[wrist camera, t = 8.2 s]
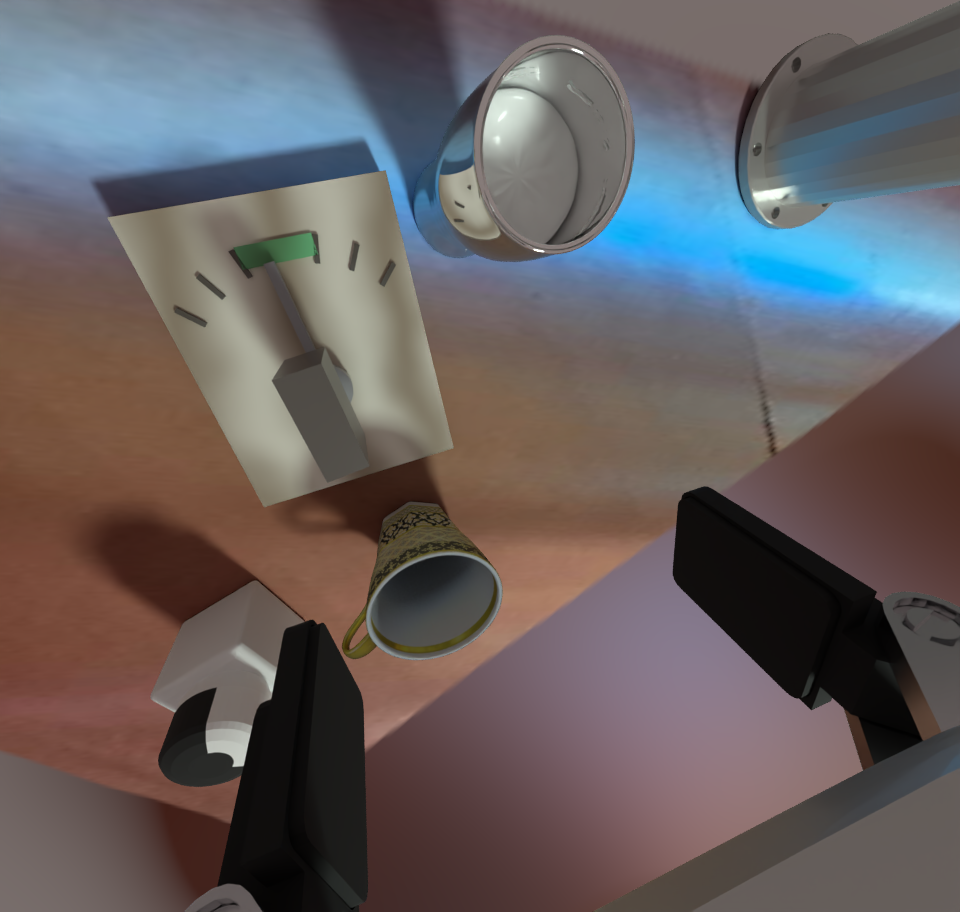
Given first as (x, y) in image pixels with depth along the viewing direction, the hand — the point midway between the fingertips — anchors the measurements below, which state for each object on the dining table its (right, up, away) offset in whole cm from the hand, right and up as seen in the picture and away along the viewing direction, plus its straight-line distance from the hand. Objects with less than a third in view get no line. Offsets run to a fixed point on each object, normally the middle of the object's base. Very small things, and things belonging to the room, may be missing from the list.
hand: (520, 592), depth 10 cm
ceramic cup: (-8, -4, +27) cm, 29 cm away
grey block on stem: (-12, +10, +16) cm, 23 cm away
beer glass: (-3, +21, +18) cm, 27 cm away
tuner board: (-13, +11, +19) cm, 25 cm away
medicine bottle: (-22, -11, +26) cm, 36 cm away
